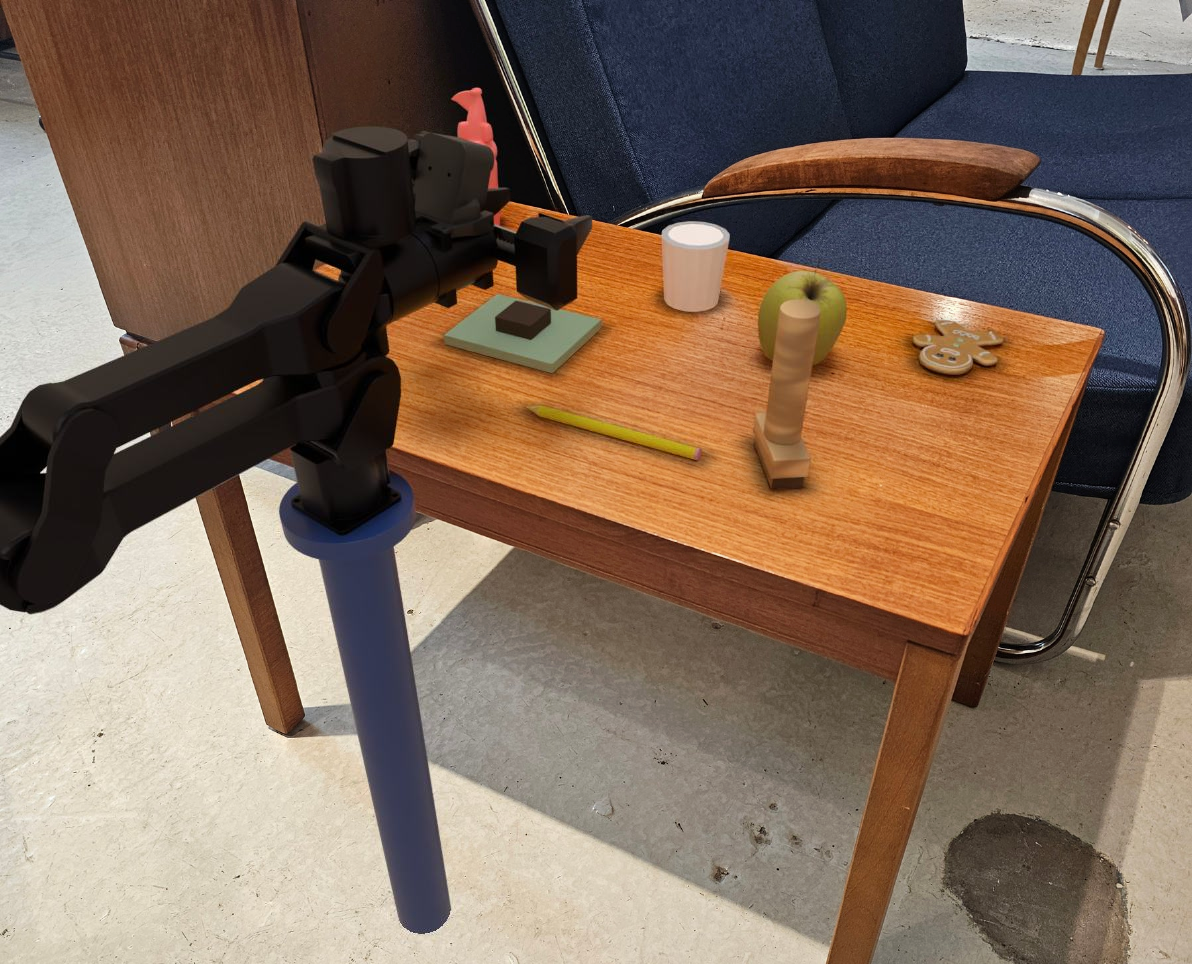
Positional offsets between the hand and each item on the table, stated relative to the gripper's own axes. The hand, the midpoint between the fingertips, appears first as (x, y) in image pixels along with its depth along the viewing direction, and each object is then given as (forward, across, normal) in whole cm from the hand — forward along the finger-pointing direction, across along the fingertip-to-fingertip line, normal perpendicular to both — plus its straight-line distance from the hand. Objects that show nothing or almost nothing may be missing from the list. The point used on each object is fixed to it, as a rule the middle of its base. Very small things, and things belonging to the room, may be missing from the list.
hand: (548, 207), depth 89 cm
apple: (+16, -17, +15) cm, 28 cm away
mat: (+3, +6, +15) cm, 16 cm away
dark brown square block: (+3, +6, +14) cm, 16 cm away
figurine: (+20, +28, +15) cm, 37 cm away
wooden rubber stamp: (0, -25, +15) cm, 29 cm away
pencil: (-6, -11, +15) cm, 20 cm away
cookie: (+27, -28, +15) cm, 41 cm away
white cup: (+20, -2, +15) cm, 25 cm away
